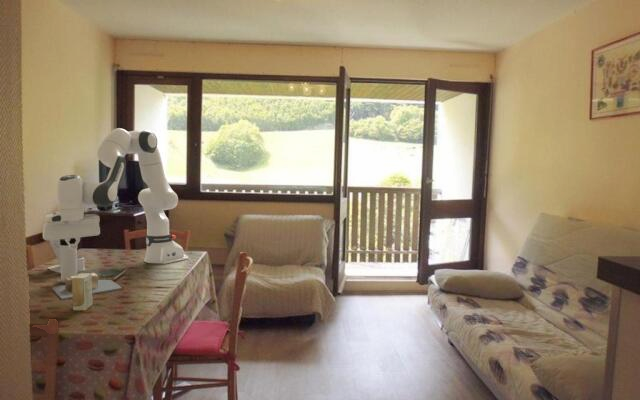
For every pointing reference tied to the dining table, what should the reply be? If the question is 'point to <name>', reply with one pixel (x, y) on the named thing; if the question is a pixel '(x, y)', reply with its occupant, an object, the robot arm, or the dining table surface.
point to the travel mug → (68, 259)
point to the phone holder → (57, 252)
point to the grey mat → (102, 287)
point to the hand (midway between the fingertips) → (73, 248)
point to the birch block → (69, 279)
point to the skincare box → (82, 291)
